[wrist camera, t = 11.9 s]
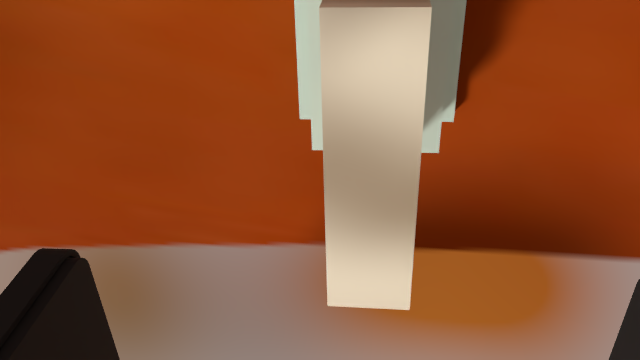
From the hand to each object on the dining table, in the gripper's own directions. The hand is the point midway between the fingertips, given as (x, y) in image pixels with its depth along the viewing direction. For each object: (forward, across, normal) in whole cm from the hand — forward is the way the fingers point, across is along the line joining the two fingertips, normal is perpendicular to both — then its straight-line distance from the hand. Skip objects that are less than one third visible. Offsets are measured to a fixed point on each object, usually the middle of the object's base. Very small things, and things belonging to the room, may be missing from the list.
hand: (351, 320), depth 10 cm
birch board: (+20, 0, +1) cm, 20 cm away
